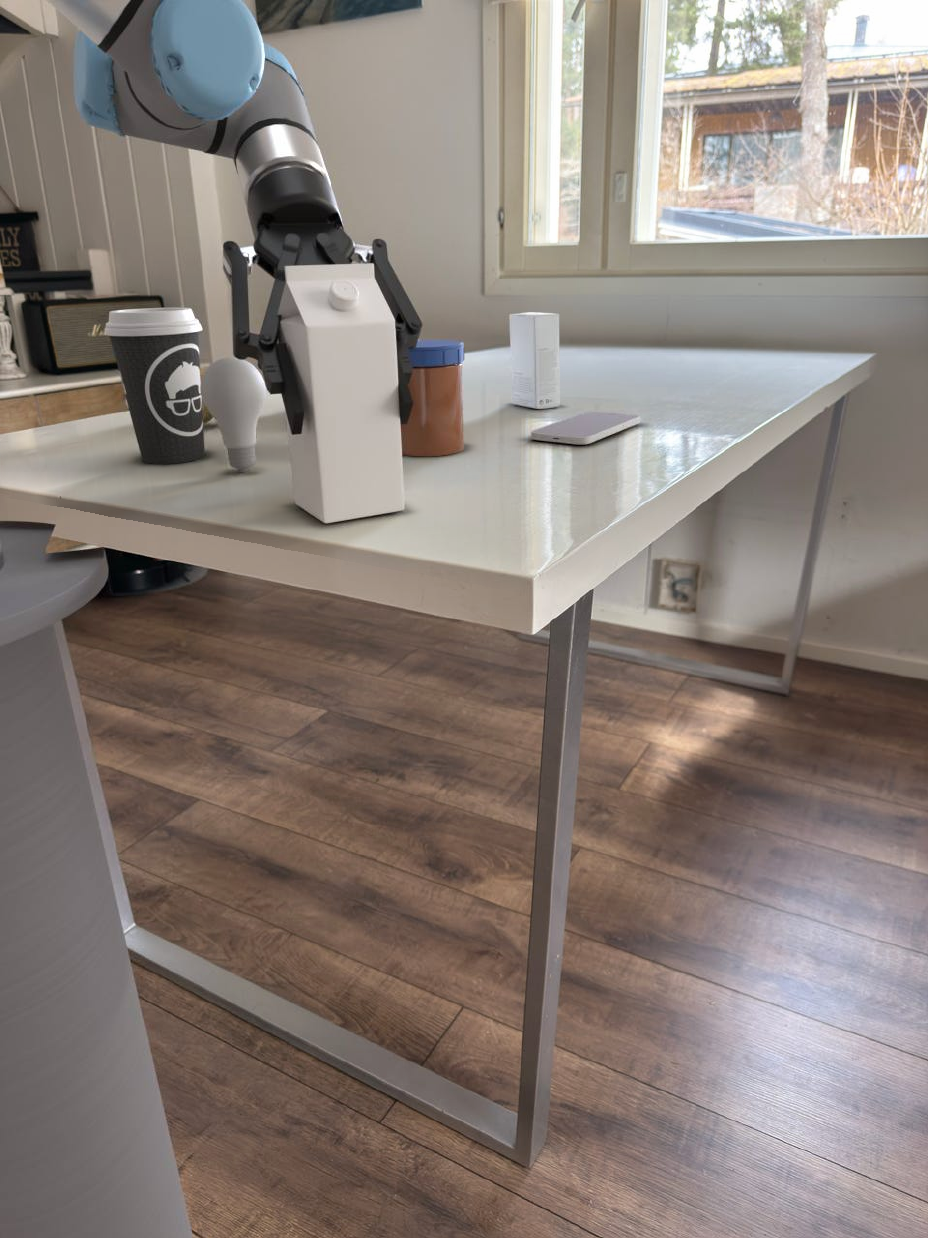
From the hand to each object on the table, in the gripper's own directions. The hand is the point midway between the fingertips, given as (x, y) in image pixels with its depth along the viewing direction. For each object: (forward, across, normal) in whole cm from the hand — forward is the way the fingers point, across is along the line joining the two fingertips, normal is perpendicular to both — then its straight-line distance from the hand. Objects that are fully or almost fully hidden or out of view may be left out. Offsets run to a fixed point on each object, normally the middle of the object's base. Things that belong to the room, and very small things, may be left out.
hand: (353, 418), depth 66 cm
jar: (-11, -14, -22) cm, 28 cm away
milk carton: (+3, 0, -8) cm, 9 cm away
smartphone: (-11, -34, -22) cm, 42 cm away
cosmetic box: (-25, -37, -36) cm, 57 cm away
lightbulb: (-9, +6, -21) cm, 24 cm away
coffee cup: (-17, +12, -28) cm, 35 cm away
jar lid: (-18, -14, -14) cm, 27 cm away
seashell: (-31, +8, -43) cm, 54 cm away
